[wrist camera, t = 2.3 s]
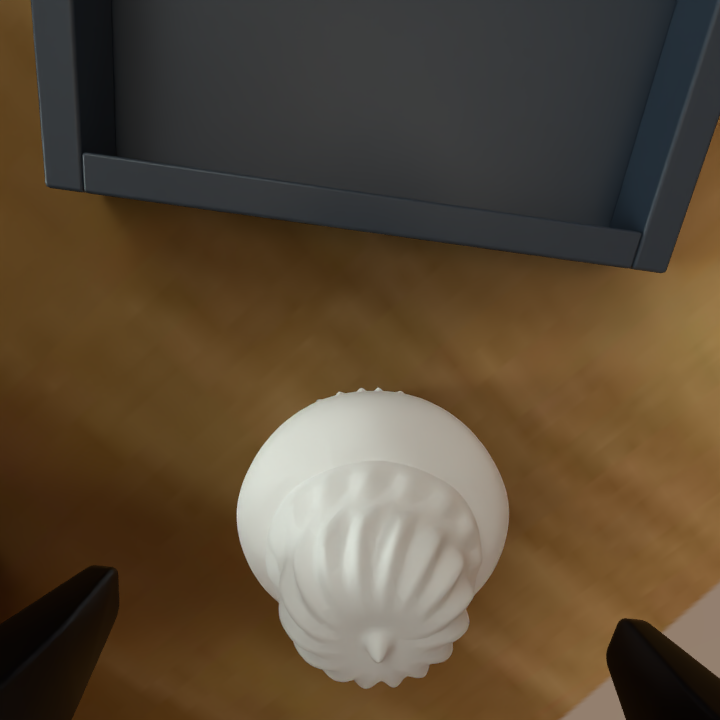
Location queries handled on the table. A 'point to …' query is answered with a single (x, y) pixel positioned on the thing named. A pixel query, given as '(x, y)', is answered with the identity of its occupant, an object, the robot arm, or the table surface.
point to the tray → (393, 115)
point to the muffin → (373, 532)
